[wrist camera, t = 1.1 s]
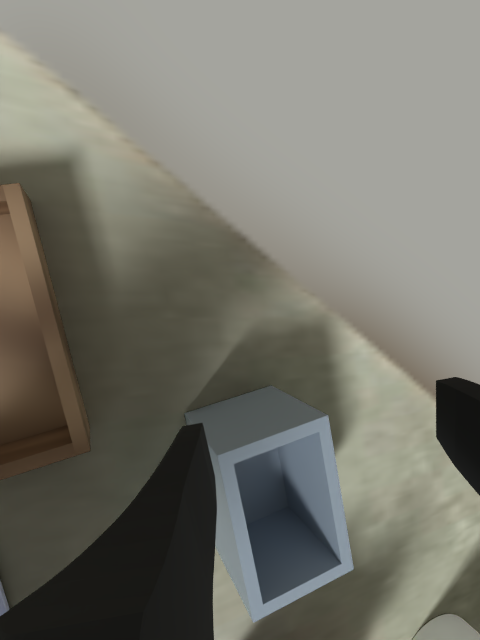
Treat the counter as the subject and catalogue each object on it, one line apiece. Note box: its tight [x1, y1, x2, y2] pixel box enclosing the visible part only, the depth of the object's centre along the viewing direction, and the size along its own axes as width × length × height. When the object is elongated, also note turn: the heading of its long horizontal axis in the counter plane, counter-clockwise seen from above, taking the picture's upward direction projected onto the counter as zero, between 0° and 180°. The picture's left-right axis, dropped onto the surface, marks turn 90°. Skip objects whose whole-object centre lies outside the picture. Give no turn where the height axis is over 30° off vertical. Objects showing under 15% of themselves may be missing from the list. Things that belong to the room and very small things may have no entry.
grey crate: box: [184, 385, 354, 623], centre depth 21 cm, size 8×5×6 cm
